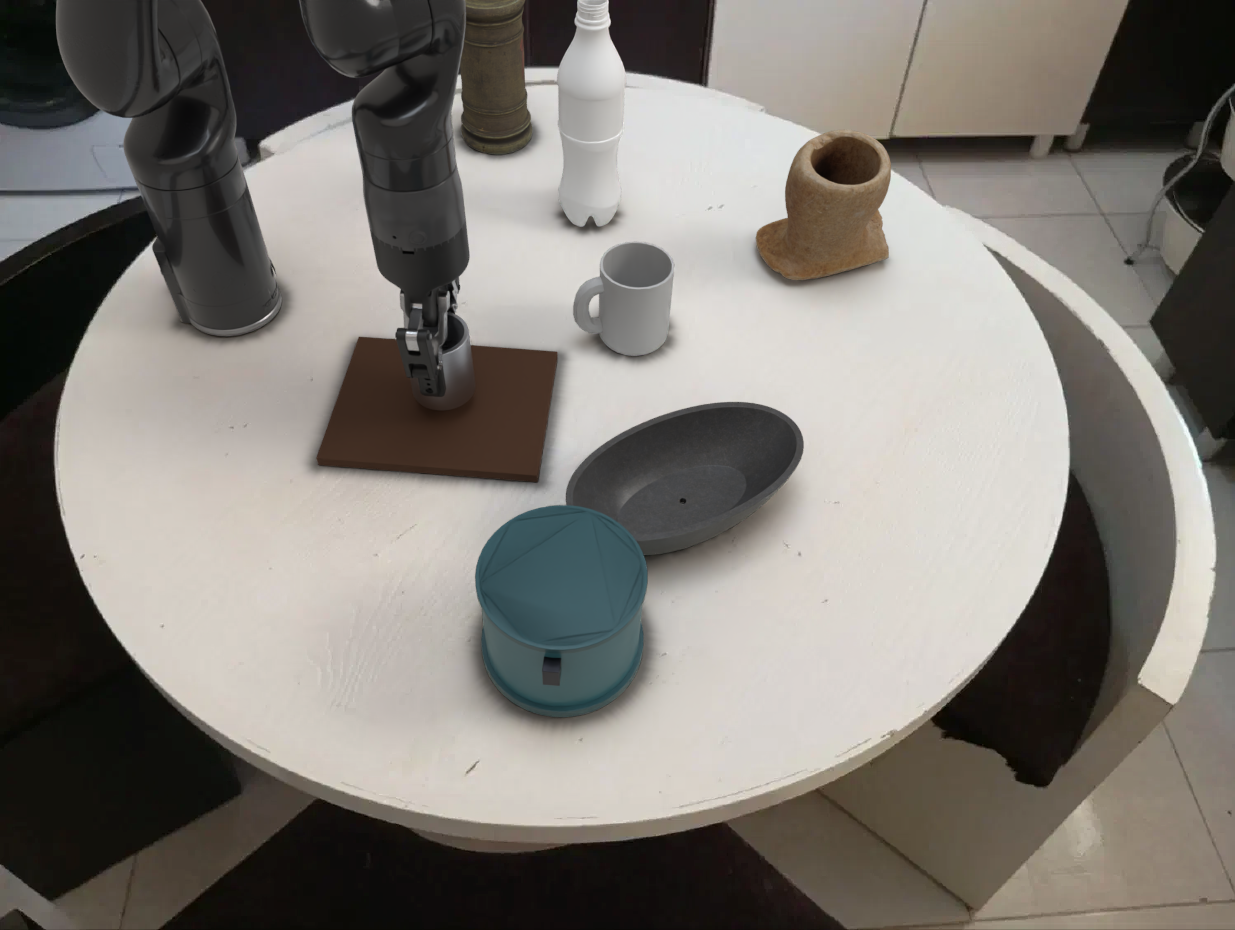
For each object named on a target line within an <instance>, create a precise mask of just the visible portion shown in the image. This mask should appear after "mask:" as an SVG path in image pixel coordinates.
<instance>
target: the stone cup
mask: <svg viewBox="0 0 1235 930" xmlns="http://www.w3.org/2000/svg"><path fill="white" fill-rule="evenodd" d="M792 159H793V160H792V162H791V164H790V167H789V170H788V174H787V178H786V181H785V188H784V202H785V210H786V216H787V217H785V218H780V219H778V220H775V221H771V222H769V223H767V224H765V225H763V226H761V227H760V228H758V229H757V231H756V235H755V244H756V248H757V251H758V253H759V255H760V257H761V258H762V260H763V261H764V262H765V264H766V265H767V266H768V267H769V268H770V269H771V270H772V271H774V272H775V273H778V274H779V275H781V276H782V277H783V278H785V279H787V280H790V281H791V280H793V281H804V280H805V281H806V280H814V279H821V278H825V277H829V276H832V275H837V274H840V273H843V272H848V271H852V270H855V269H859V268H862V267H865V266H869V265H871V264H875V263H879V262H883V261H884V260H886V259H889V256H890V252H889V249H890V248H889V245H888V242H887V239H886V236H885V235H886V234H885V232H884V230H883V225H884V222H883V216H882V215H881V212H880V210H879V209H880V207H881V206H882V204H883V203H884V201H885V199H886V197H887V194H888V192H889V187H890V183H891V179H892V178H891V177H892V163H891V158H890V155H889V153H888V151H887V149H886V148H885V146H884V145H883V144H882V143H881V142H880V141H878V140H877V139H876V138H874V137H872V136H871V135H868V134H867V133H865V132H861V131H857V130H852V129H836V130H835V129H834V130H830V131H827V132H824V133H821V134H819V135H817V136H815V137H812V138H811V139H809V140H808V141H807V142H805V143H804V144H803V145H802V146H801V147H800V148H799V149H798V151H796V154H795V155H794V157H793V158H792Z"/></svg>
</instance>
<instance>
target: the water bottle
mask: <svg viewBox="0 0 1235 930" xmlns="http://www.w3.org/2000/svg"><path fill="white" fill-rule="evenodd" d="M576 4H577V6H576V8H577V12H576V13H575V18H574V25H575V26H576V29H575V33H574V37H573V39H572V40H571V42H570V44H569V46H568V48H567V50H566V51H565V53H564V55H563V57H562V59H561V60H560V63H559V66H558V69H557V75H556V84H557V99H558V100H557V101H558V102H557V103H558V105H557V106H558V107H557V108H558V109H557V111H558V113H557V114H558V120H557V127H558V131H559V134H560V141H561V147H562V160H563V162H562V174H561V178H560V183H559V185H558V189H557V191H558V192H557V193H558V194H557V195H558V201H559V202H558V203H559V205H560V207H561V209H562V210H563V212H564V215H565V216H566V217H567V219H568V220H569V221H570V222H571V223H572V224H573V225H575V226H577V227H581V228H582V227H583V228H584V227H585V225H586V223H588V220H589V218H590V217H592V219H593V221H594V223H595V225H596V227H603V226H605V225H607V224H609V223H610V222H611V220H613V218H614V216H615V215H616V212H617V210H618V209H619V206H620V203H621V201H622V193H623V191H622V185H621V181H620V173H619V167H618V152H619V146H620V145H619V144H620V141H621V138H622V136H623V133H624V130H625V124H624V122H625V120H624V119H625V98H626V97H625V95H626V87H627V73H626V69H625V66H624V62H623V61H622V58H621V56H620V54H619V52H618V50H617V48H616V47H615V44H614V42H613V41H612V38H611V35H610V29H609V28H610V26H611V24H612V23H611V22H612V21H611V18H610V13H609V4H610V3H609V0H577V3H576Z"/></svg>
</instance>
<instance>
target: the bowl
mask: <svg viewBox="0 0 1235 930" xmlns="http://www.w3.org/2000/svg"><path fill="white" fill-rule="evenodd" d="M804 449H805V441H804V437H803V434H802V431H801V429H800V427H799V426H798V424H797V423H796V422H795V421H794V420H793V419H792V418H791V417H789V416H788V414H785V413H784V412H782V411H780V410H779V409H777V408H774V407H771V406H768V405H765V404H760V403H754V402H748V401H747V402H746V401H720V402H719V401H718V402H710V403H704V404H699V405H694V406H689V407H685V408H681V409H678V410H674V411H670V412H667V413H664V414H661V415H659V416H656V417H653V418H650V419H648V420H645V421H643V422H641V423H639V424H637V425H635V426H632V427H630V428H629V429H626V430H624V431H622V432H620V433H619V434H617V435H615V436H614V437H612V438H610V439H609V440H607V441H605V442H604V443H602V444H601V445H600V446H598V447H597V448H596V449H595V450H594V451H592V452H591V453H590V454H589V455H587V457H586V458H584V459H583V460H582V462H581V463H580V464H579V465H578V466H577V467H576V469H575V470H574V472H573V473H572V475H571V477H570V479H569V480H568V483H567V486H566V489H565V497H564V499H565V505H572V506H580V507H584V508H589V509H592V510H595V511H598V512H601V513H603V514H605V515H607V516H609V517H611V518H612V519H614V520H615V521H617V522H618V523H620V524H621V525H622V526H623V527H624V528H626V529H627V530H628V531H629V533H630V534H631V535H632V536H633V537H634V538H635V540H636V541H637V543H638V544H639V546H640V548H641V550H642V552H643V555H644V556H653V555H661V554H668V553H673V552H676V551H677V552H678V551H680V550H684V549H687V548H690V547H693V546H696V545H698V544H701V543H703V542H707V541H708V540H710V539H712V538H714V537H717V536H719V535H721V534H723V533H725V532H726V531H728V530H731V529H732V528H733V527H735V526H737V525H739V524H740V523H741V522H743V521H745V520H746V519H747V518H749V517H750V516H751V515H753V514H755V512H757V511H758V510H759V509H760V508H762V507H763V506H764V505H765V504H766V503H767V502H768V501H769V500H771V499H772V498H773V496H774V495H776V494H777V492H778V491H779V490H780V489H781V488H782V487H783V486H784V484H785V483H786V482H787V481H788V480H789V478H790V477H791V476H792V475H793V473H794V472H795V471H796V469H797V467H798V466H799V465H800V462H801V460H802V458H803V454H804Z"/></svg>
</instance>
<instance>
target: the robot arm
mask: <svg viewBox="0 0 1235 930" xmlns="http://www.w3.org/2000/svg"><path fill="white" fill-rule="evenodd" d="M298 2H299V9H300V14H301V18H302V22H303V25H304V28H305V31H306V34H307V37H308V38H309V40H310V42H311V45H312V46H313V47H314V49H315V50H316V52H317V54H318V55H319V56H320V58H322V60H323V61H324V62H325V63H326V64H327V65H329V67H331V68H332V69H333V70H335V71H336V72H338V74H341V75H344V76H346V77H349V78H355V79H359V78H365V77H370V76H373V75H374V74H377V73H380V72H381V73H380V74H379V75H378V76H377V77H375V78H374V79H372V81H370V82H369V83H367V84H366V85H365V86H364V87H363V88H362V89H361V90H360V91H359V92H358V93H357V94H356V96H355V97H354V99H353V102H352V105H351V122H352V127H353V133H354V136H355V137H354V138H355V143H356V149H357V153H358V159H359V163H360V169H361V176H362V196H363V201H364V207H365V212H366V217H367V222H368V228H369V232H370V237H371V241H372V247H373V252H374V257H375V262H376V263H375V264H376V267H377V269H378V271H379V273H380V274H381V276H382V277H383V278H384V279H385V280H387V281H388V282H389V283H390V284H392V285H394V286H396V287H397V288H398V289H399V307H400V309H401V311H402V312H403V313H402V314H403V327H397V328H396V332H395V334H394V335H395V338H394V339H396V341H397V345H398V348H399V352H400V355H401V359H402V362H403V366H404V369H405V373H406V377H407V378H418V383H419V388H420V393H421V394H422V395H424V396H433V397H443V396H444V395H445V391H446V384H445V377H444V370H443V360H442V345H443V344H444V342H445V341H446V339H447V337H448V335H447V312H450V313H453V314H456V313H457V310H458V307H459V303H458V301H457V300H458V295H459V294H460V291H461V284H460V276H462V275H463V274H464V273H465V271H466V270H467V268H468V266H469V262H470V258H471V256H470V246H469V245H470V244H469V236H468V227H467V225H468V224H467V217H466V209H465V198H464V190H463V184H462V180H461V176H460V173H459V170H458V169H459V168H458V164H457V163H458V162H457V157H456V147H455V140H454V139H455V138H454V130H453V121H452V110H453V105H454V100H455V97H456V90H457V84H458V77H459V72H460V61H461V55H462V50H463V44H464V37H465V28H466V4H465V0H298ZM55 29H56V31H55V32H56V33H55V34H56V40H57V46H58V49H59V54H60V57H61V59H62V63H63V66H64V67H65V69H66V71H67V73H68V76H69V77H70V79H71V80H72V82H73V84H74V85H75V86H76V88H77V89H78V91H79V92H80V93H81V94H82V96H83V97H85V98H86V100H88V101H89V102H90V103H91V104H92V105H93V106H94V107H96V108H97V109H99V110H100V111H102V112H104V113H106V114H107V115H110V116H113V117H117V118H123V119H131V120H130V122H129V124H128V126H127V129H126V131H125V133H124V138H123V143H122V145H123V146H122V147H123V152H124V153H123V154H124V157H125V159H126V161H127V165H128V167H129V169H130V172H131V174H132V177H133V179H134V182H135V184H136V187H137V189H138V192H139V194H140V196H141V199H142V202H143V204H144V207H145V209H146V212H147V214H148V217H149V220H150V222H151V223H152V227H153V229H154V232H155V234H156V238H155V239H154V241H153V243H152V246H151V249H152V253H153V254H154V258H155V260H156V262H157V265H158V267H159V271H160V274H161V276H162V277H163V280H164V282H165V285H166V287H167V290H168V291H169V292H168V293H169V294H170V296H171V299H172V301H173V304H174V307H175V309H176V312H177V314H178V316H179V319H180V321H181V323H184V324H185V323H186V324H191V325H192V326H193V327H194V328H195V329H197V330H198V331H200V332H202V333H204V334H207V335H211V336H216V337H235V336H241V335H245V334H248V333H251V332H254V331H256V330H258V329H261V328H262V327H263V326H266V325H267V324H268V323H270V322H271V321H273V319H274V318H275V317H276V315H277V314H278V313H279V311H280V309H281V307H282V303H283V302H282V301H283V298H282V297H283V296H282V293H281V290H280V288H279V287H280V286H279V285H278V282H277V279H276V277H278V274H277V272H276V268H275V266H274V264H273V262H272V260H271V258H270V256H269V253H268V250H267V249H268V248H267V247H266V246H267V245H266V243H265V238H264V236H263V233H262V229H261V225H260V222H259V219H258V216H257V212H256V208H255V206H254V202H253V199H252V196H251V191H250V189H249V186H248V185H249V184H248V182H247V179H246V176H245V172H244V169H243V165H242V162H241V158H240V155H239V152H238V148H237V145H236V142H235V138H236V132H237V121H238V120H237V112H236V107H235V101H234V98H233V93H232V90H231V85H230V80H229V76H228V72H227V67H226V63H225V60H224V55H223V51H222V46H221V43H220V40H219V37H218V34H217V31H216V28H215V25H214V23H213V21H212V18H211V15H210V14H209V12H208V10H207V7H205V4H204V3H203V2H202V0H56V8H55ZM275 276H276V277H275ZM436 326H438V332H429V330H425V329H423V327H436ZM433 348H434V350H433Z"/></svg>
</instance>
